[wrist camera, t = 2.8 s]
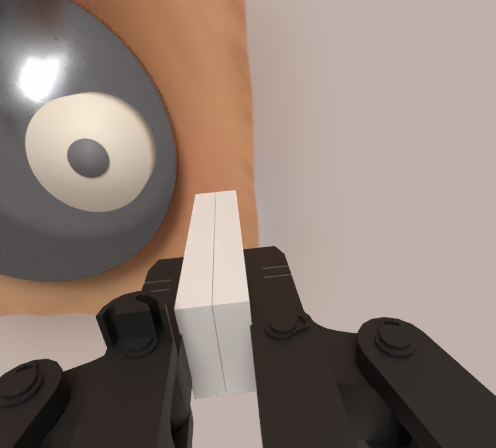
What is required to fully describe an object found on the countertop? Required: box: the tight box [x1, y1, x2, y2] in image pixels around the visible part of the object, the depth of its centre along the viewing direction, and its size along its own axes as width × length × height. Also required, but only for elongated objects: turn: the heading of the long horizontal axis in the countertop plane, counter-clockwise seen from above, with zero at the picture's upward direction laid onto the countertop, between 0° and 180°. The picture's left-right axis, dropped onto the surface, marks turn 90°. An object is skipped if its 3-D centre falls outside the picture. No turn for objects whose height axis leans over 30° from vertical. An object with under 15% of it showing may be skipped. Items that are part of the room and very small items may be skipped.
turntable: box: [0, 0, 177, 281], centre depth 27 cm, size 26×26×7 cm
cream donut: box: [25, 92, 157, 212], centre depth 27 cm, size 9×9×4 cm
